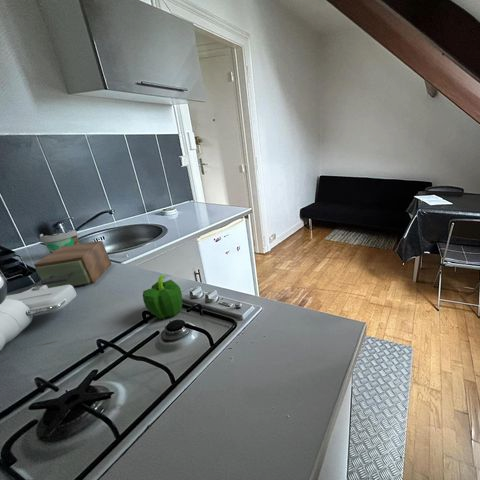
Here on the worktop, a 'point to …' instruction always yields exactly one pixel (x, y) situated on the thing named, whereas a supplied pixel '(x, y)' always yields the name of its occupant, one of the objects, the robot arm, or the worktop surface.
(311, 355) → the worktop surface
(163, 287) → the bell pepper
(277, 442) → the worktop surface
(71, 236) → the food container
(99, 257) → the cabinet
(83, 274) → the drawer
